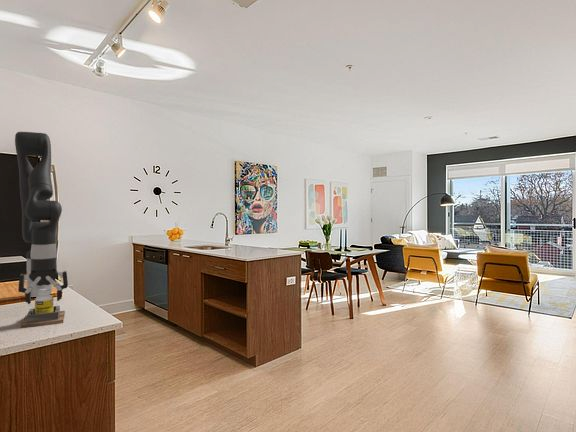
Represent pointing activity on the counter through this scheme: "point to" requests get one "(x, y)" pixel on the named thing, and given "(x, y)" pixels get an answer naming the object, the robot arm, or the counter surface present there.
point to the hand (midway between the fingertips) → (44, 301)
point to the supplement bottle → (43, 301)
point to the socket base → (43, 318)
